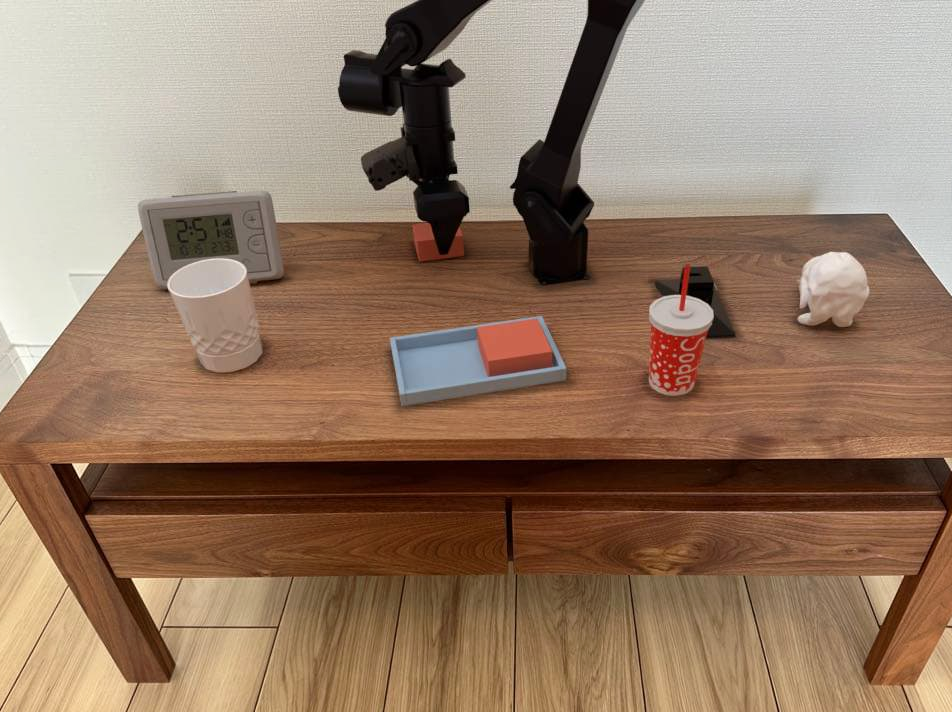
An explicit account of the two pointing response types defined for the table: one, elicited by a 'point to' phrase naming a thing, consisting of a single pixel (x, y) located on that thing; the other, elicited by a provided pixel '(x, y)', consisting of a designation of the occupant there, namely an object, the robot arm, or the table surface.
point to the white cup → (218, 313)
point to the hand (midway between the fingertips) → (438, 237)
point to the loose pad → (434, 243)
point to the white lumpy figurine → (832, 289)
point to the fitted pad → (514, 347)
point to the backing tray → (458, 366)
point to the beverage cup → (677, 340)
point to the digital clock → (212, 233)
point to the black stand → (701, 298)
